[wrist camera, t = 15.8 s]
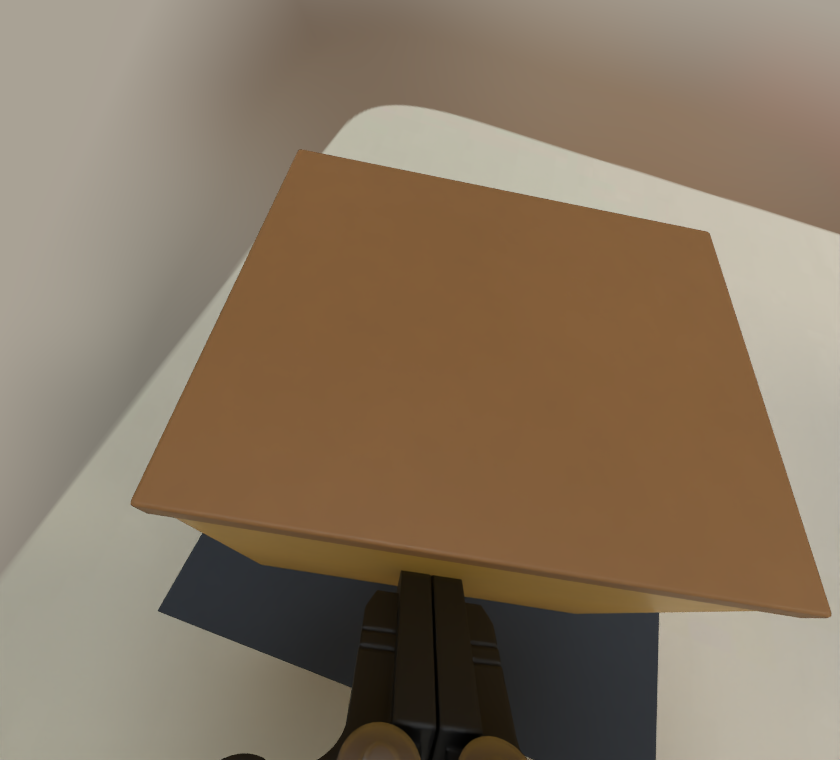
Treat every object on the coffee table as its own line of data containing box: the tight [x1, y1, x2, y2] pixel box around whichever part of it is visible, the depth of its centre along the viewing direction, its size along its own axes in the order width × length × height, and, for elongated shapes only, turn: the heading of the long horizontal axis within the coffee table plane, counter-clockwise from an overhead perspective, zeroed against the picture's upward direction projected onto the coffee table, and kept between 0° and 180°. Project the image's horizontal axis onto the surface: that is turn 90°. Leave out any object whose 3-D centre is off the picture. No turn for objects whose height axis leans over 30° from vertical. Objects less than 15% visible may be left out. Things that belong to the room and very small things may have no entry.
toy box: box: [131, 149, 831, 618], centre depth 13 cm, size 9×11×9 cm
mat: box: [158, 533, 659, 760], centre depth 18 cm, size 16×22×1 cm
